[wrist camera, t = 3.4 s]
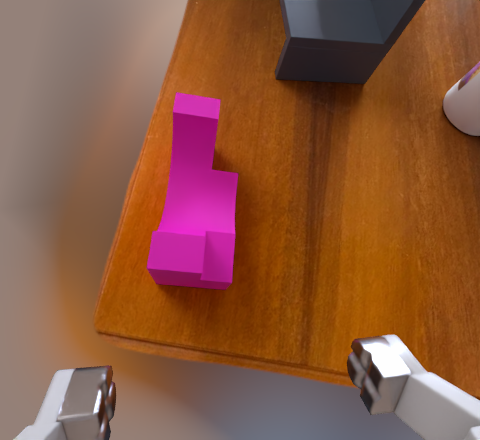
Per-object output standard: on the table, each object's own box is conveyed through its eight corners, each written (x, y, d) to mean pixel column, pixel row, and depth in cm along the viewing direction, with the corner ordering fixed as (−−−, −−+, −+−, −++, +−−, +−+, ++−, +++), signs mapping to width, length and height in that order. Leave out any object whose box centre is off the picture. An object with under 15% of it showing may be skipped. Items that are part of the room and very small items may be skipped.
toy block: (225, 289, 29) (237, 276, 22) (156, 284, 28) (146, 268, 21) (236, 150, 34) (248, 104, 27) (178, 142, 33) (176, 92, 26)
